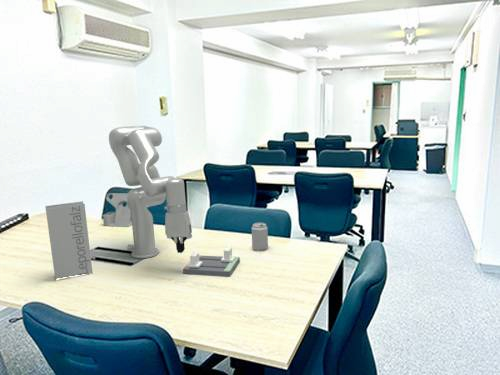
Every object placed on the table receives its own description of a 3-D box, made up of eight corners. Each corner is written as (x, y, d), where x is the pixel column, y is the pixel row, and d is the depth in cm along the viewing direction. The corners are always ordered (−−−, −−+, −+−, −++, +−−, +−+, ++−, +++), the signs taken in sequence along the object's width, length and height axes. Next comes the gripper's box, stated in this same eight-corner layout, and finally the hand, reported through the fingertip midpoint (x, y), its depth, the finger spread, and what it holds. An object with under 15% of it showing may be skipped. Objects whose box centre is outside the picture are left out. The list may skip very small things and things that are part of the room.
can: (266, 251, 193) (266, 226, 191) (250, 251, 195) (249, 226, 192) (269, 246, 200) (268, 222, 198) (253, 245, 202) (253, 221, 200)
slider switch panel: (183, 273, 171) (182, 268, 171) (196, 259, 187) (196, 255, 186) (230, 276, 167) (229, 271, 166) (239, 261, 182) (239, 257, 182)
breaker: (221, 261, 177) (220, 250, 176) (224, 257, 182) (223, 246, 181) (232, 262, 176) (231, 251, 175) (235, 257, 181) (234, 247, 180)
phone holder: (101, 226, 245) (98, 196, 241) (111, 221, 254) (108, 192, 251) (128, 227, 241) (125, 196, 237) (137, 222, 250) (134, 192, 247)
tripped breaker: (187, 267, 172) (186, 256, 171) (191, 262, 177) (190, 251, 176) (198, 267, 171) (198, 256, 170) (202, 263, 176) (202, 252, 175)
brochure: (55, 281, 169) (45, 208, 163) (54, 276, 174) (45, 206, 168) (92, 273, 175) (84, 203, 169) (90, 269, 180) (82, 201, 174)
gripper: (155, 211, 168) (160, 254, 172) (190, 210, 165) (194, 255, 168) (163, 206, 176) (167, 248, 179) (197, 206, 172) (200, 249, 175)
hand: (180, 251), depth 174 cm, fingers closed
